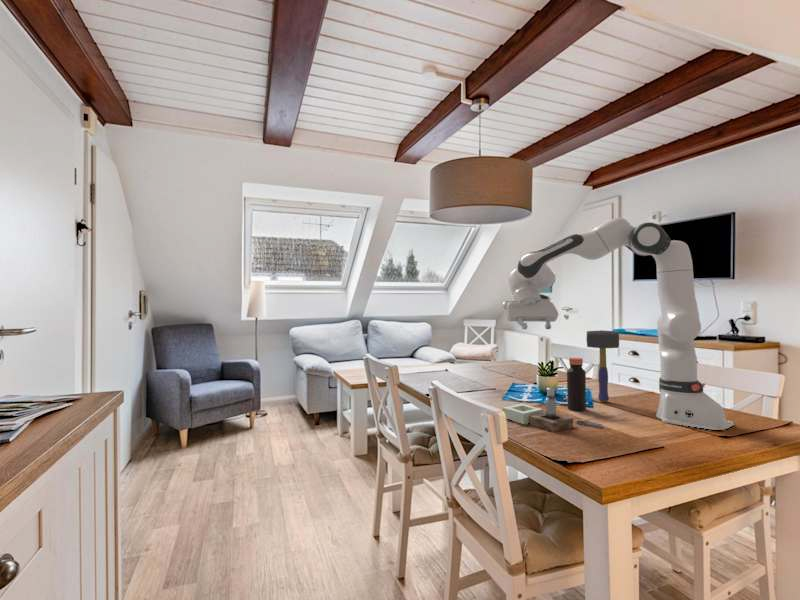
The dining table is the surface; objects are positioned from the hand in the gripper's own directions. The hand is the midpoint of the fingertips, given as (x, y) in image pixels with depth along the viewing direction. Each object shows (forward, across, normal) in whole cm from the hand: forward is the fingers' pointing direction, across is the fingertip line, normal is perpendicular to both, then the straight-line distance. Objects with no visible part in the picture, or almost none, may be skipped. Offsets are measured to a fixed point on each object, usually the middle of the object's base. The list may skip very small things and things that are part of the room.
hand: (537, 328), depth 162 cm
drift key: (+35, +12, +11) cm, 39 cm away
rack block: (+28, -7, +19) cm, 34 cm away
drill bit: (+34, -1, +12) cm, 36 cm away
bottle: (+20, +19, +26) cm, 38 cm away
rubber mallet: (+14, +36, +32) cm, 50 cm away
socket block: (+34, -1, +12) cm, 36 cm away
